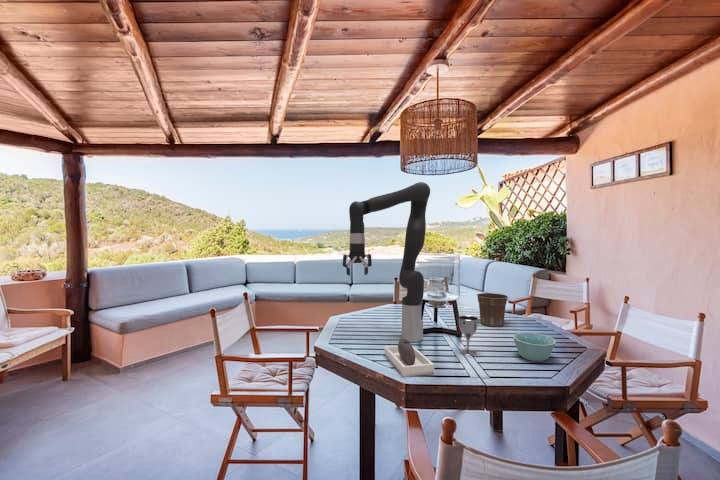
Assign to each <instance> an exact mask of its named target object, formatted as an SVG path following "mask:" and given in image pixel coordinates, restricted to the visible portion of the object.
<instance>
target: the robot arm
mask: <svg viewBox="0 0 720 480" xmlns="http://www.w3.org/2000/svg"><path fill="white" fill-rule="evenodd" d="M430 195H431V189H430V186H429V185H428V184H427V183H426V182H423V181H418V182H416V183H414V184H412V185H409V186H407V187H405V188H402V189H399V190H396V191H393V192H389V193H386V194H381V195H378V196H373V197H370V198H368V199H367V200H362V201H353V202H351V203H350V205H349V209H348V213H349V221H350V224H349V225H350V226H349V253H348V254H345V253H344V254H343V255H342V256H343V257H342V267H344V268H346V269H345V270H346V275H347V276H348V277H350V276H351V268H350V267H351V266H352V265H353V264H362V265H363V266H364V268H363V269H364V276H367V275H368V274H369V267H372V265H373V263H372V253H371V254H370V253H368V254H366V249H365V248H366V237H365V223H364V216H365V215H369V214H371V213H374V212H380V211H384V210H386V209H390V208H392V207H393V208H394V207H395V206H397V205H399V204H403V203H408V202H409V203H410V213H409V217H408V219H407V225H406V230H405V238H404V239H405V240H404V248H403V249H404V250H403V256H402V263H401V268H400V271H399V277H398V281H399V285H400V286H401V287H402V288H403V289H407V291H406V296H403V297H402V299H401V339H407V340H408V341H409V342H410V343H418V342H421V341H424V320H423V319H422V301H423V298H424V291H425V289H424V288H425V287H424V286H425V279H424V275H423V273H422V272H420V271H418V270H415V269H416V262H417V259H418V257H419V255H420V253H421V251H422V249H423V247H424V245H425V242H426V241H425V240H426V239H425V238H426V231H427V230H426V227H427V226H426V224H427V223H426V211H427V205H428V202H429V198H430ZM365 258H366V259H367V262H366V260H365ZM347 259H350V260H349V261H348V262H347Z"/></svg>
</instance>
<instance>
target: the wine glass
mask: <svg viewBox="0 0 720 480" xmlns="http://www.w3.org/2000/svg"><path fill="white" fill-rule="evenodd" d="M478 325H479V318H478V317H477V316H475V315H459V316H458V326H459V331H460V332H461V333H462V335H463V336H464V337H465V340H466V349H460V350H459V354H461V355H465V356H475V355H477V354H478V353H477V352H476V351H475V350H473V349H470V341H471V338H472V337H473V336H474V335H475V334H476V332H477V331H478V327H479V326H478Z"/></svg>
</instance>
